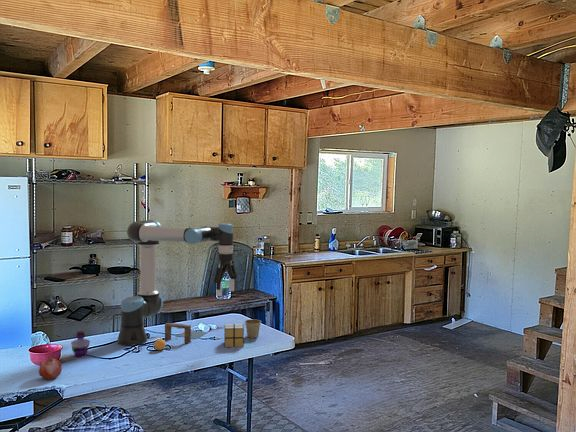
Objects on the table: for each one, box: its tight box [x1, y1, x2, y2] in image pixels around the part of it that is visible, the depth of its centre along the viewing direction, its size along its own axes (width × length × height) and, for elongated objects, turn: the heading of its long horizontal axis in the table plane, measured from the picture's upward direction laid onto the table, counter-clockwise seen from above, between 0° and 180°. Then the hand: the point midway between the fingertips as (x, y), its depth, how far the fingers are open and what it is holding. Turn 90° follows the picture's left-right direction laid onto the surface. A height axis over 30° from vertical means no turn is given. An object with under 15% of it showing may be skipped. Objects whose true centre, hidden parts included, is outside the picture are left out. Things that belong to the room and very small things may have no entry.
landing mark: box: [176, 330, 208, 340], centre depth 288 cm, size 13×13×1 cm
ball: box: [153, 338, 166, 351], centre depth 260 cm, size 6×6×6 cm
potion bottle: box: [70, 330, 91, 358], centre depth 249 cm, size 9×9×12 cm
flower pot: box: [244, 318, 262, 339], centre depth 285 cm, size 9×9×9 cm
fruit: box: [38, 355, 63, 381], centre depth 220 cm, size 9×10×10 cm
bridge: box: [164, 322, 192, 345], centre depth 274 cm, size 3×14×9 cm, turn 68°
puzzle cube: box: [223, 323, 245, 348], centre depth 271 cm, size 10×10×10 cm
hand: (225, 293), depth 266 cm, fingers open, 13 cm apart
